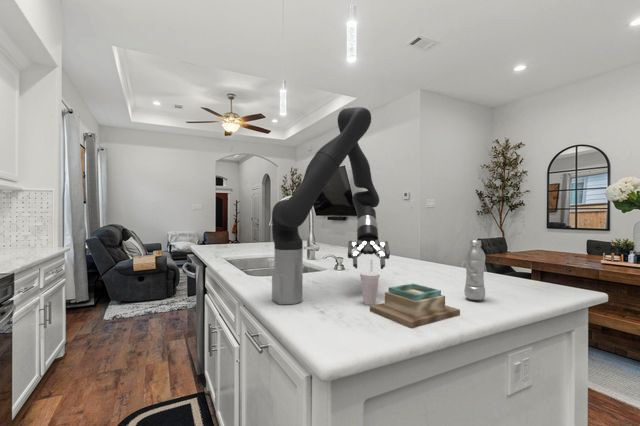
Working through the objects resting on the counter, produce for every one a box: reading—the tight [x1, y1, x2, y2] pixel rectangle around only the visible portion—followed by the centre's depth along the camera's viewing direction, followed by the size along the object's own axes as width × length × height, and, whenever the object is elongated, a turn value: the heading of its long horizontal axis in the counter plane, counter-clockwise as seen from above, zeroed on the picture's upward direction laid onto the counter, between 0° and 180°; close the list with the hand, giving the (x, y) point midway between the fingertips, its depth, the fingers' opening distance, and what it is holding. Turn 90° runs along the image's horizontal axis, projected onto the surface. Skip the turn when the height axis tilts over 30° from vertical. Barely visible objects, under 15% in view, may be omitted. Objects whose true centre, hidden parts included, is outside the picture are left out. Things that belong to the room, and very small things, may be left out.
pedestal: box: [369, 283, 461, 329], centre depth 94 cm, size 20×16×7 cm
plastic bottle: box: [464, 239, 487, 301], centre depth 108 cm, size 6×7×20 cm
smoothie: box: [359, 259, 381, 306], centre depth 103 cm, size 6×6×14 cm
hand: (369, 267), depth 107 cm, fingers open, 8 cm apart
